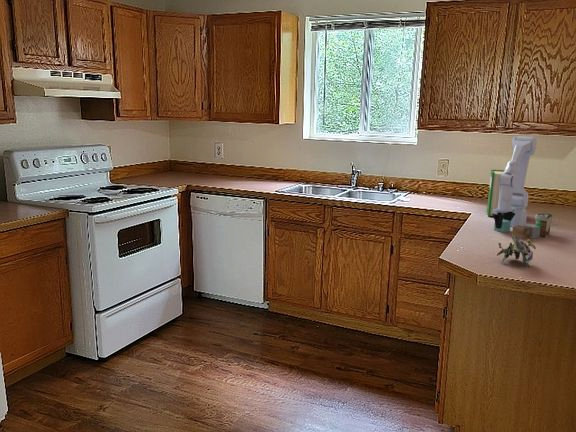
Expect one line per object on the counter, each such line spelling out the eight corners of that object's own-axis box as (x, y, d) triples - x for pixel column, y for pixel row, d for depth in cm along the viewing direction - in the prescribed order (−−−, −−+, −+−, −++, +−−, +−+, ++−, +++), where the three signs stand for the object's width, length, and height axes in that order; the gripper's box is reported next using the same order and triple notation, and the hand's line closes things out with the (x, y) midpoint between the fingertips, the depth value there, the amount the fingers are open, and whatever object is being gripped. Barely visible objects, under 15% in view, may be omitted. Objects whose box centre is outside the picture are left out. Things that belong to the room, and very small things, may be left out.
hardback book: (502, 218, 275) (507, 173, 270) (487, 216, 277) (492, 172, 272) (500, 212, 291) (505, 170, 286) (486, 211, 293) (491, 169, 289)
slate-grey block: (529, 235, 237) (531, 224, 236) (539, 237, 232) (540, 226, 231) (522, 236, 234) (523, 225, 233) (532, 238, 230) (533, 227, 229)
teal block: (500, 229, 247) (501, 219, 246) (509, 231, 243) (511, 221, 242) (494, 230, 245) (495, 220, 244) (503, 232, 241) (504, 222, 240)
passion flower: (525, 281, 188) (537, 259, 178) (490, 271, 191) (501, 249, 181) (528, 256, 196) (540, 233, 186) (495, 247, 199) (505, 224, 189)
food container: (535, 231, 243) (538, 211, 241) (549, 234, 240) (552, 212, 238) (529, 236, 234) (532, 214, 232) (544, 238, 230) (547, 216, 228)
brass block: (518, 236, 234) (519, 225, 233) (528, 238, 230) (529, 227, 229) (511, 237, 231) (512, 226, 230) (521, 239, 227) (523, 228, 226)
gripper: (503, 201, 234) (499, 230, 237) (522, 199, 241) (519, 227, 244) (489, 199, 240) (486, 227, 242) (509, 197, 247) (506, 225, 250)
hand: (502, 227), depth 244 cm, fingers open, 5 cm apart
